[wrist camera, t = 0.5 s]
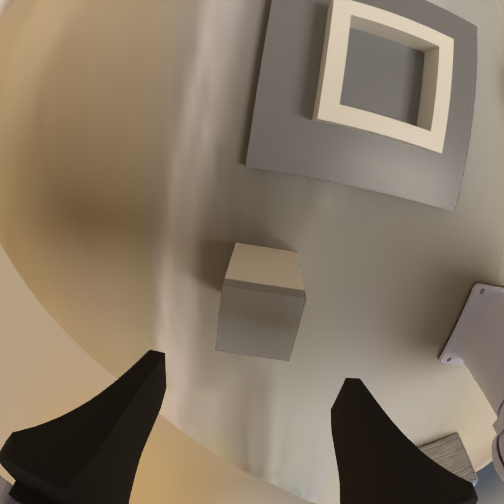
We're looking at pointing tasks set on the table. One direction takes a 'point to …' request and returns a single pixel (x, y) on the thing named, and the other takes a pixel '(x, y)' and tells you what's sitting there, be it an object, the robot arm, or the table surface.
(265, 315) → the block
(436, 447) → the medicine box
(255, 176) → the table surface
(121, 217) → the table surface
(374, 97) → the outlet plate
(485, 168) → the table surface
